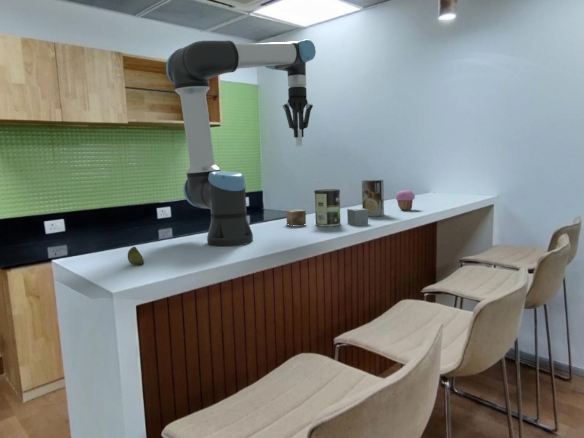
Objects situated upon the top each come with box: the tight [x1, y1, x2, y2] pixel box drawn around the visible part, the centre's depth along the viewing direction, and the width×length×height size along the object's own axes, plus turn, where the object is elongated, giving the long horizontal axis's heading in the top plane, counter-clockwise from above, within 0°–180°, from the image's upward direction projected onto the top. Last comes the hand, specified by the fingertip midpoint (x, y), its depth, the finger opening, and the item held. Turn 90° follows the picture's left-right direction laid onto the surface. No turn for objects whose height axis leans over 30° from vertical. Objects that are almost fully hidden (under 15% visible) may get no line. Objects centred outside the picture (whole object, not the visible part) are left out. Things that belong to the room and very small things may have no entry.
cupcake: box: [395, 189, 416, 211], centre depth 207 cm, size 9×9×10 cm
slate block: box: [346, 207, 369, 226], centre depth 169 cm, size 6×6×6 cm
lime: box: [127, 246, 145, 266], centre depth 112 cm, size 4×5×5 cm
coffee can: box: [313, 188, 341, 227], centre depth 169 cm, size 10×10×14 cm
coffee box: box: [361, 179, 385, 217], centre depth 192 cm, size 9×6×16 cm
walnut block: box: [285, 208, 307, 227], centre depth 172 cm, size 6×6×6 cm
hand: (299, 145), depth 175 cm, fingers closed
